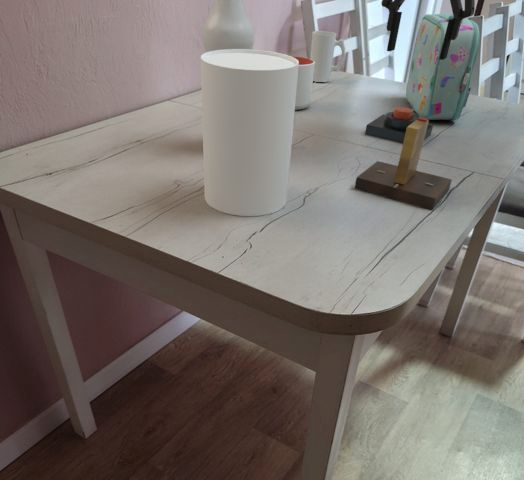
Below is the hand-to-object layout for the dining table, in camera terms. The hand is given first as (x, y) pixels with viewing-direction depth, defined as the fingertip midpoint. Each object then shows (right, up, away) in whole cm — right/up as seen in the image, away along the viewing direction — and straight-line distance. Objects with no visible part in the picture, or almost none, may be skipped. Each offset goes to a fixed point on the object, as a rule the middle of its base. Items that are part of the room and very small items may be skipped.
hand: (416, 54), depth 99 cm
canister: (-34, -35, -18) cm, 52 cm away
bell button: (-1, -9, +8) cm, 12 cm away
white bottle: (-38, -19, -1) cm, 43 cm away
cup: (-24, +1, +24) cm, 34 cm away
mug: (-13, +20, +46) cm, 51 cm away
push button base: (-1, -12, +10) cm, 16 cm away
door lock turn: (-6, -30, -14) cm, 34 cm away
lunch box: (+12, +1, +26) cm, 29 cm away
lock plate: (-7, -32, -13) cm, 35 cm away
